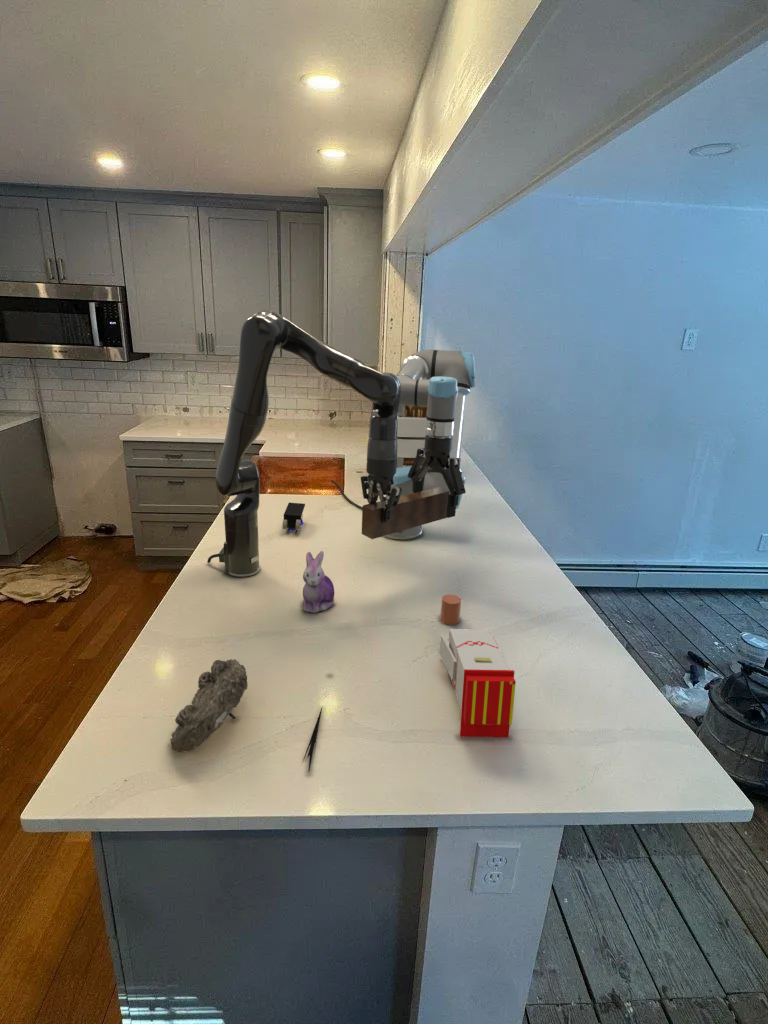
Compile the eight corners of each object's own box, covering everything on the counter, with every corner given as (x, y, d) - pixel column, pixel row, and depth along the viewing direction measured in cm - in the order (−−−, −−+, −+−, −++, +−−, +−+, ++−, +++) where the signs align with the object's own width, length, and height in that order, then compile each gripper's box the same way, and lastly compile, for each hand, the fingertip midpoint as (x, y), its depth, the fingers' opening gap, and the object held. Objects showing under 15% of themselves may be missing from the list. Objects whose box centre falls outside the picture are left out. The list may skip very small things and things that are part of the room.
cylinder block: (435, 618, 146) (437, 597, 144) (449, 612, 149) (451, 592, 147) (450, 626, 143) (452, 605, 141) (463, 620, 146) (465, 599, 144)
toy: (489, 613, 130) (525, 677, 101) (485, 667, 133) (518, 744, 104) (437, 612, 130) (457, 676, 101) (434, 666, 133) (453, 743, 103)
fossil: (195, 660, 117) (247, 628, 112) (227, 691, 120) (279, 661, 115) (146, 746, 98) (206, 711, 93) (185, 779, 101) (245, 748, 96)
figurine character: (301, 540, 194) (306, 519, 208) (300, 520, 191) (305, 501, 204) (281, 539, 194) (287, 519, 207) (280, 519, 191) (287, 500, 204)
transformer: (381, 463, 289) (385, 382, 275) (444, 464, 292) (450, 384, 279) (389, 482, 257) (393, 392, 243) (459, 483, 261) (467, 394, 247)
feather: (331, 679, 122) (336, 673, 122) (307, 777, 96) (313, 769, 95) (324, 675, 122) (329, 669, 121) (298, 772, 95) (304, 764, 95)
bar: (372, 539, 145) (373, 510, 142) (361, 534, 148) (362, 505, 145) (447, 517, 162) (449, 491, 159) (436, 513, 165) (438, 487, 163)
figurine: (308, 617, 144) (307, 563, 139) (294, 599, 152) (294, 548, 147) (342, 610, 148) (343, 557, 143) (327, 592, 156) (328, 542, 151)
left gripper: (352, 450, 144) (350, 514, 150) (389, 463, 134) (386, 530, 140) (375, 447, 149) (372, 508, 155) (412, 459, 139) (408, 524, 145)
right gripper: (397, 428, 159) (394, 500, 167) (464, 446, 142) (456, 525, 149) (417, 426, 164) (412, 495, 171) (483, 443, 147) (475, 520, 154)
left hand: (379, 518), depth 147 cm, fingers closed on bar, 4 cm apart
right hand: (433, 509), depth 160 cm, fingers open, 13 cm apart
